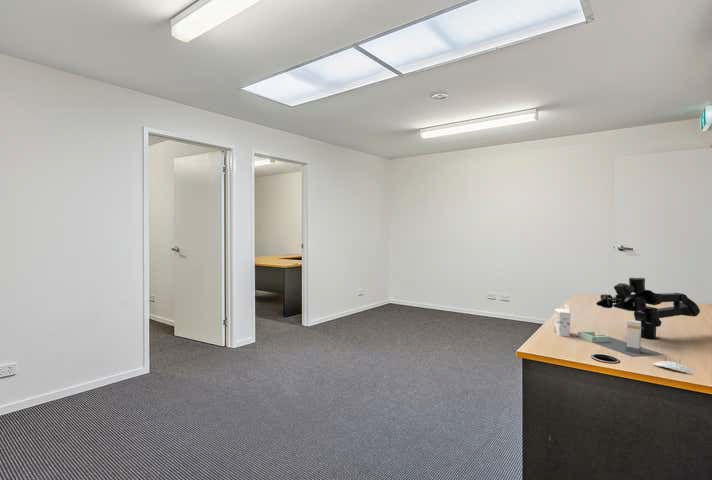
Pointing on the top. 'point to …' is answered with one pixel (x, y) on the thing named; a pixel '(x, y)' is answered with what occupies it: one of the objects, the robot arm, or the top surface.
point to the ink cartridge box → (562, 321)
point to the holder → (592, 337)
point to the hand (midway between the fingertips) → (604, 304)
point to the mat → (624, 347)
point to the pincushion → (673, 366)
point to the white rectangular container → (633, 336)
